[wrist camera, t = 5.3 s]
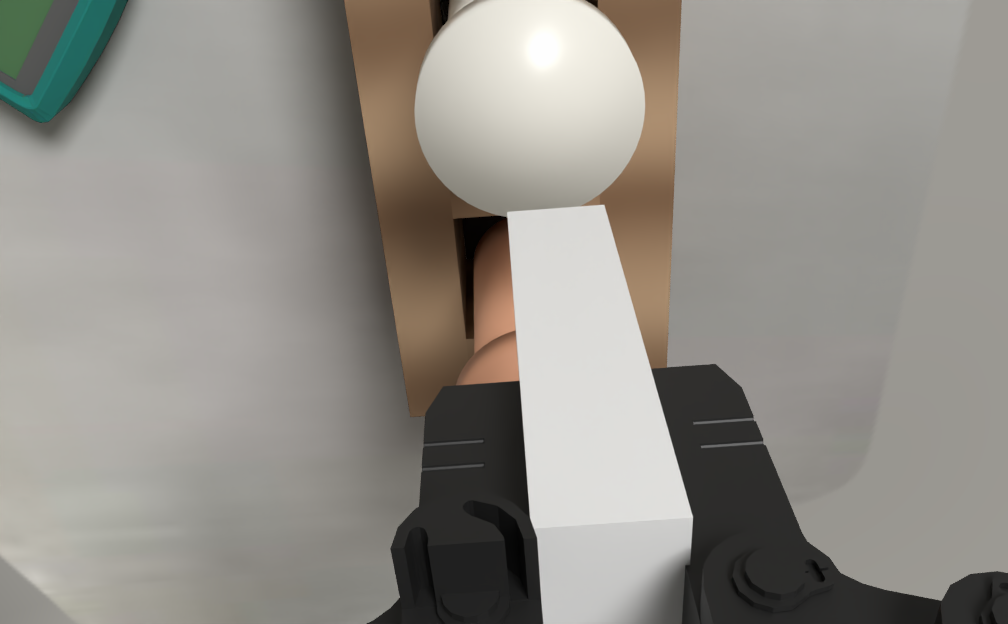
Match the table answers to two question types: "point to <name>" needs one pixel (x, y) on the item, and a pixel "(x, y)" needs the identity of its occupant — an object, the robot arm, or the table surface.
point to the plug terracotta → (493, 312)
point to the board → (438, 213)
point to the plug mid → (528, 103)
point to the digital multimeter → (51, 50)
